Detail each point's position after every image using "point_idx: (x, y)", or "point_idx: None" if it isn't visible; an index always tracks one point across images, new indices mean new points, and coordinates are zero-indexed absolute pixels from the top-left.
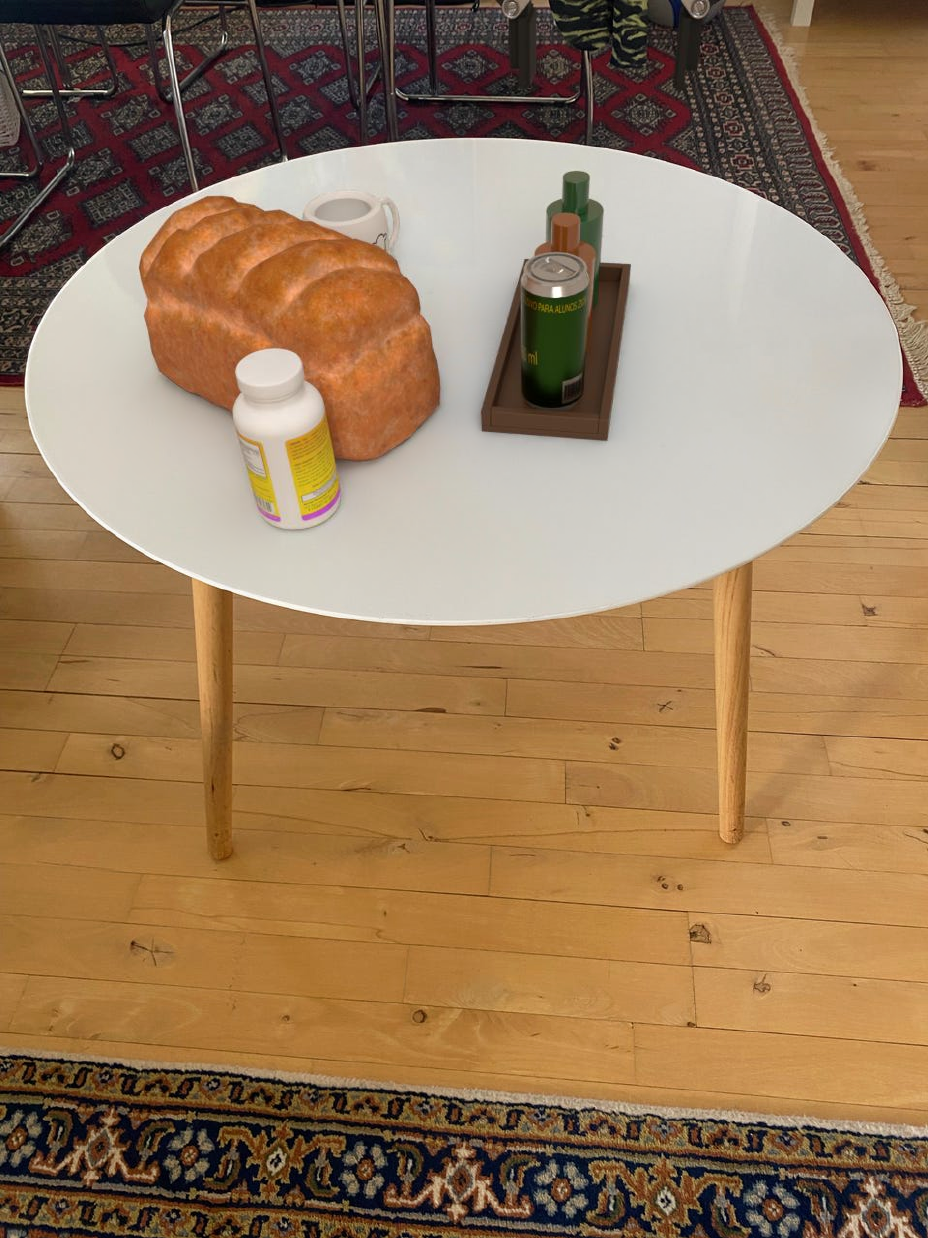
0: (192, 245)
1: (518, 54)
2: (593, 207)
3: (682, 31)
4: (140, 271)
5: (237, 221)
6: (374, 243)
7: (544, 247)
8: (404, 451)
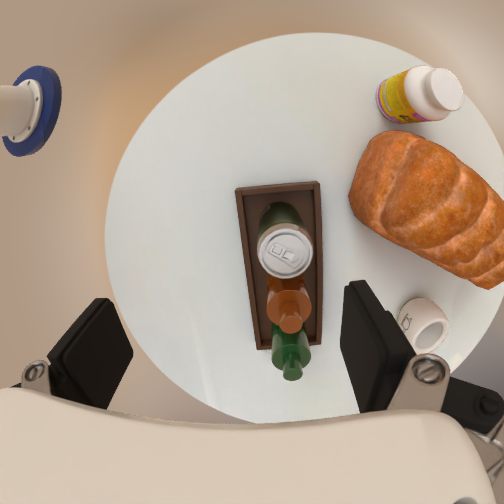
0: None
1: (383, 308)
2: (279, 362)
3: (63, 346)
4: None
5: (500, 247)
6: (410, 321)
7: (305, 313)
8: (357, 154)
